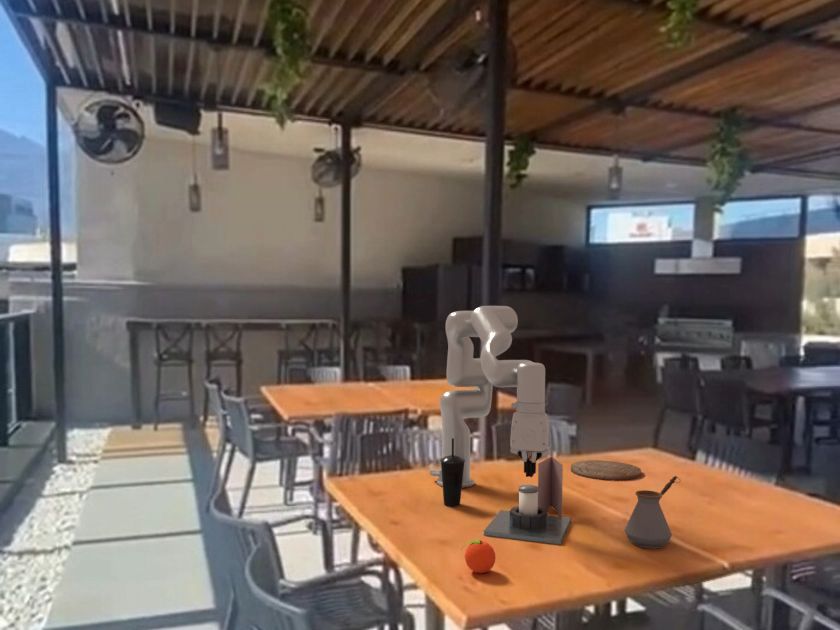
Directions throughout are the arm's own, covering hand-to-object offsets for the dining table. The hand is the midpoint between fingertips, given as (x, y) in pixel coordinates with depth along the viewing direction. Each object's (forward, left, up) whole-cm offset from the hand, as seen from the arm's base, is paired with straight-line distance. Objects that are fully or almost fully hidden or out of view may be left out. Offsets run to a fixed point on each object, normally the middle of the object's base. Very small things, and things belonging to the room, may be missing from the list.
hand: (529, 475), depth 190 cm
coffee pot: (+33, +4, -15) cm, 36 cm away
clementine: (-5, -35, -15) cm, 38 cm away
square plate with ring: (0, 0, -14) cm, 14 cm away
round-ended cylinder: (0, 0, -13) cm, 13 cm away
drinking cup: (-26, +14, -15) cm, 33 cm away
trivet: (+14, +75, -15) cm, 78 cm away
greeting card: (+4, +18, -15) cm, 24 cm away
